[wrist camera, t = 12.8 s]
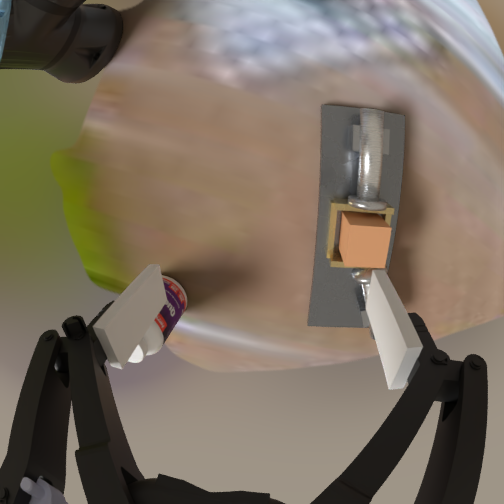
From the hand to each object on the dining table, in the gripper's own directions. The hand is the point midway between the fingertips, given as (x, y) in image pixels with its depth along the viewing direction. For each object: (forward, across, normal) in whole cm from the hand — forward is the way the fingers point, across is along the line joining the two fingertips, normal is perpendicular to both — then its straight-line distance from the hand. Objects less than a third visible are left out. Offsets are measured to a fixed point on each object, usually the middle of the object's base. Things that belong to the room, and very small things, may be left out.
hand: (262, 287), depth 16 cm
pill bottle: (+22, -19, -16) cm, 33 cm away
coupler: (+20, +10, -4) cm, 23 cm away
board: (+22, +10, -4) cm, 24 cm away
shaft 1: (+21, +11, +6) cm, 24 cm away
